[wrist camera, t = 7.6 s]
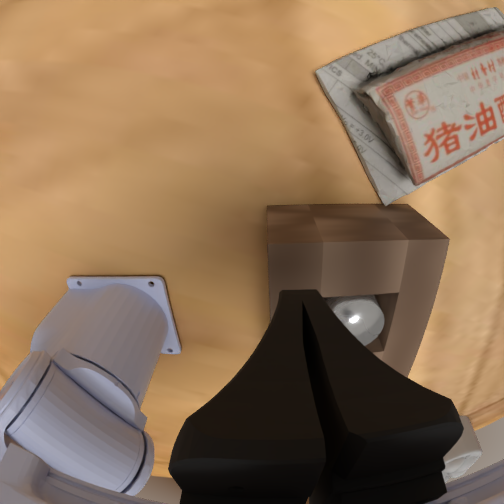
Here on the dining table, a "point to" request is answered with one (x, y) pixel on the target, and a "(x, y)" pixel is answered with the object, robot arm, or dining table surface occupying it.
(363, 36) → the dining table surface
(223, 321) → the dining table surface
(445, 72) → the packaged product
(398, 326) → the walnut block
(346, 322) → the grey metal peg
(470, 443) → the lumpy-topped squat cylinder
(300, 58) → the dining table surface
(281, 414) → the robot arm
